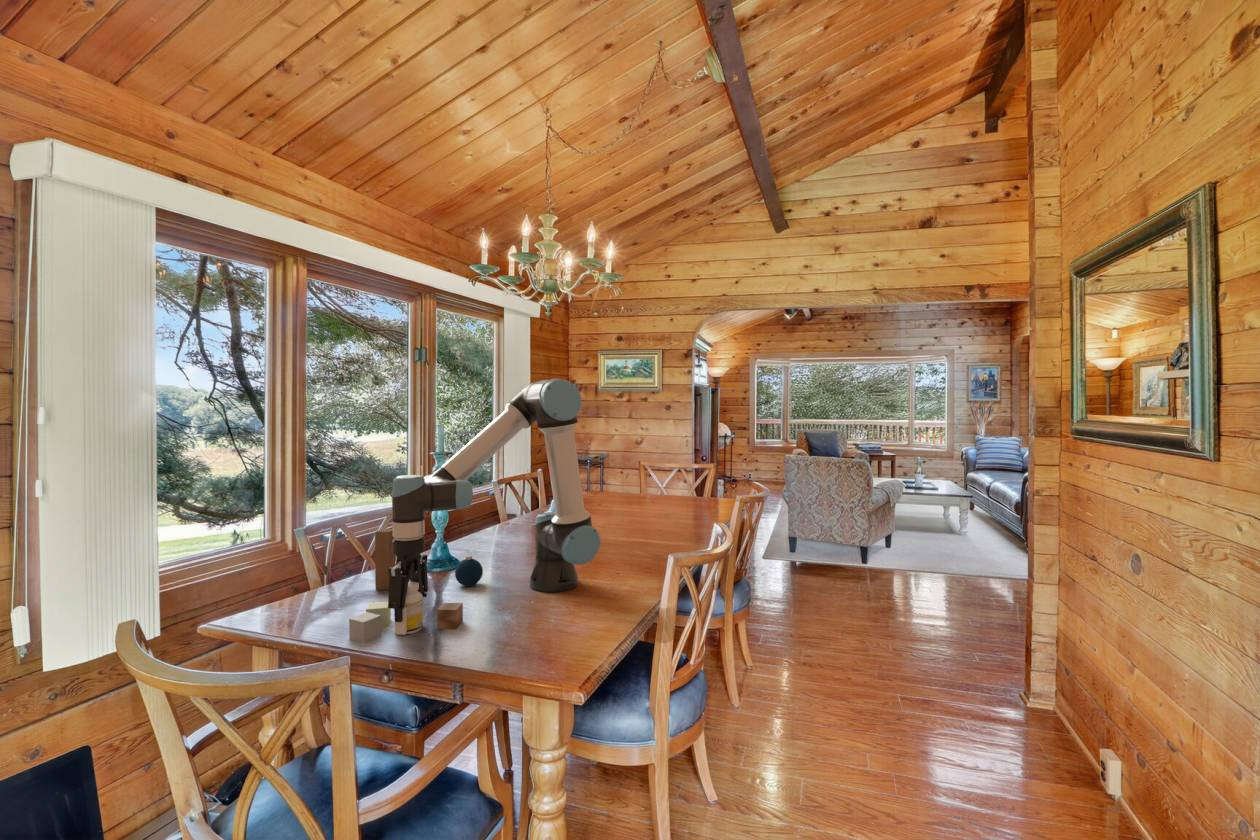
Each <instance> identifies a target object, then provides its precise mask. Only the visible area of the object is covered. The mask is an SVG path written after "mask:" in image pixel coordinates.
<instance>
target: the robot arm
mask: <svg viewBox="0 0 1260 840" xmlns="http://www.w3.org/2000/svg"><path fill="white" fill-rule="evenodd" d="M582 404H583V403H582V397H581V392H580V391H579V388H578V387H577V386H576V385H575V384H574V383H572V382H571V381H569V380H567V379H562V378H551V379H540V380H535V381H533V382H531V383H529V384H528V385H527V386H525V387H524V388H523V389H522V390H520V391H519V393H517V394H516V395H515V396H514V397H513V398H512V399H511V400H510V401H508V402H507V403H506V404H505V409H504V411H502V412H501V413H500V414H499V415H498V416H497V417H495V419H493V420H492V421H490V423H489V424H488V425H486V427H484V428H483V429H482V430H481V431H480V432H479V433H477V435H475V436H474V437H473V438H472V439H471V440H470V441H468V442H467V444H465V445H464V446H462V448H461V449H459V451H457V452H456V453H454V454H453V455H452V457H450V458H449V459H448V460H447V461H446V462H445V463H444V464H442V465H441V467H439V468H438V469H437V470H436V471H434V472H433V473H430V474H428V475H425V476H423V475H421V474H404V475H403V474H402V475H398V476H395V477H394V478H393V480H392V487H391V488H392V490H391V491H392V492H391V500H392V501H391V503H392V504H391V508H392V509H391V511H392V517H391V518H392V529H393V537H394V539H393V541H392V546H393V554H394V555H395V557H396V560H395V563H396V565H395V566H394V567H390V568H389V569H388V572H389V590H388V596H387V597H388V608H391V609H393V612H394V618H393V619H394V634H395V635H404V636H406V635H408V634H407V607H404V605H405V599H406V594H407V588H408V582H418V583H419V589H418V592H420V593H421V594H422V596H423V598H426V597H427V596H428V593H427V592H428V591H429V586H428V585H429V583H428V582H429V580H428V564H427V563H428V554H422V553H423V552H424V551H425V539H426V538H425V537H424V536H425V534H426V531H425V529H426V528H425V515H426V514H425V513H430V512H440V511H451V510H452V511H453V510H457V511H459V510H463V509H467V508H469V507H471V506H472V503H473V497H474V492H473V487H472V486H473V485H472V484H471V482H470V481H469V480H468V479H469V478H470V477H471V476H472V475H474V474H475V472H476V471H478V470H479V469H480V468H481V467H482V466H483V465H484V464H485V463H486V462H488V461H489V460H490V459H491V458H492V457H493V456H494V455H495V454H497V452H499V451H500V450H501V449H502V448H503V447H504V446H506V444H507V443H509V442H510V441H511V440H512V439H513V438H514V437H515V436H516V435H517V434H518V433H519V432H521V431H522V430H523V429H529V428H530V427H531V426H532V425H533V424H535V423H536V425H537V429H538V431H540V432H542V434H543V435H544V443H545V449H546V456H547V457H546V458H547V462H548V463H547V464H548V470H549V476H550V477H549V478H550V484H551V492H552V496H553V497H552V498H553V505H554V511H549V512H548V511H547V512H542V513H538V514H537V515H536V517H535V522H534V523H535V524H534V528H535V529H534V530H535V536H534V538H535V561H534V562H535V563H534V565H533V567H532V571H531V575H530V576H529V587H530V588H531V589H532V590H534V591H539V592H544V593H546V592H547V593H557V592H558V591H559V592H565V590H566V591H569V589H570V590H572V589H574V587H575V588H576V587H577V586H578V585H579V577H578V576H579V575H578V572H577V569H576V566H575V565H577V566H578V565H579V566H580V565H585V564H587V563H589V562H590V561H592V560H593V559H594V558H595V557H596V555H597V554H598V552H599V550H600V547H601V536H600V533H599V532H598V530H597V529H596V527H593V523H592V516H591V512H589V511H588V510H587V509H585V505H584V504H585V503H584V502H585V501H584V496H583V489H582V480H581V474H580V466H579V460H578V452H577V447H576V439H575V438H576V437H575V431H574V430H575V428H576V427H577V425H578V424H579V420H578V414H579V412H580V410H581V408H582ZM401 575H402V576H401ZM405 576H406V577H405ZM571 588H572V589H571Z"/></svg>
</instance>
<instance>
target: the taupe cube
mask: <svg viewBox="0 0 1260 840" xmlns="http://www.w3.org/2000/svg"><path fill="white" fill-rule="evenodd" d="M348 621H349V623H348V625H349V626H348V627H349V628H348V630H349V632H348V634H349V635H348V636H349V638H348V639H349V640H353V641H356V642H359V643H366V642H368V641H371V640H373V639H376V638H378V637H380V636H382V627H381V615H377V614H373V613H369V612H366V611H365V612H363V613H361V614H358V615H356V616H353V617H351V618H349V620H348Z"/></svg>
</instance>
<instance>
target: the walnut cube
mask: <svg viewBox="0 0 1260 840" xmlns="http://www.w3.org/2000/svg"><path fill="white" fill-rule="evenodd" d="M463 622H464V605H463V602H443V603H442V604H441V605H440V606H439V607H438V608H437V609H436V630H457V629H458V628H459V627H460V625H462V624H463Z"/></svg>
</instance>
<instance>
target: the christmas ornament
mask: <svg viewBox="0 0 1260 840" xmlns="http://www.w3.org/2000/svg"><path fill="white" fill-rule="evenodd" d="M483 574H484V570H483V566H482V564H481V562H479V561H478V560H477V559H475V558H473V556H472V555H471V554H467V555H466V556H465V559H463V560H461V561H460V562H459V563H458V564H457V565H456V568H455V570H454V577H455V579H456V581H457V582H458V583H459V584H460V585H462V586H464V587H472V586H475V585H477V584H478V583H479V582H480V581H481V579H482V576H483Z"/></svg>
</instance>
